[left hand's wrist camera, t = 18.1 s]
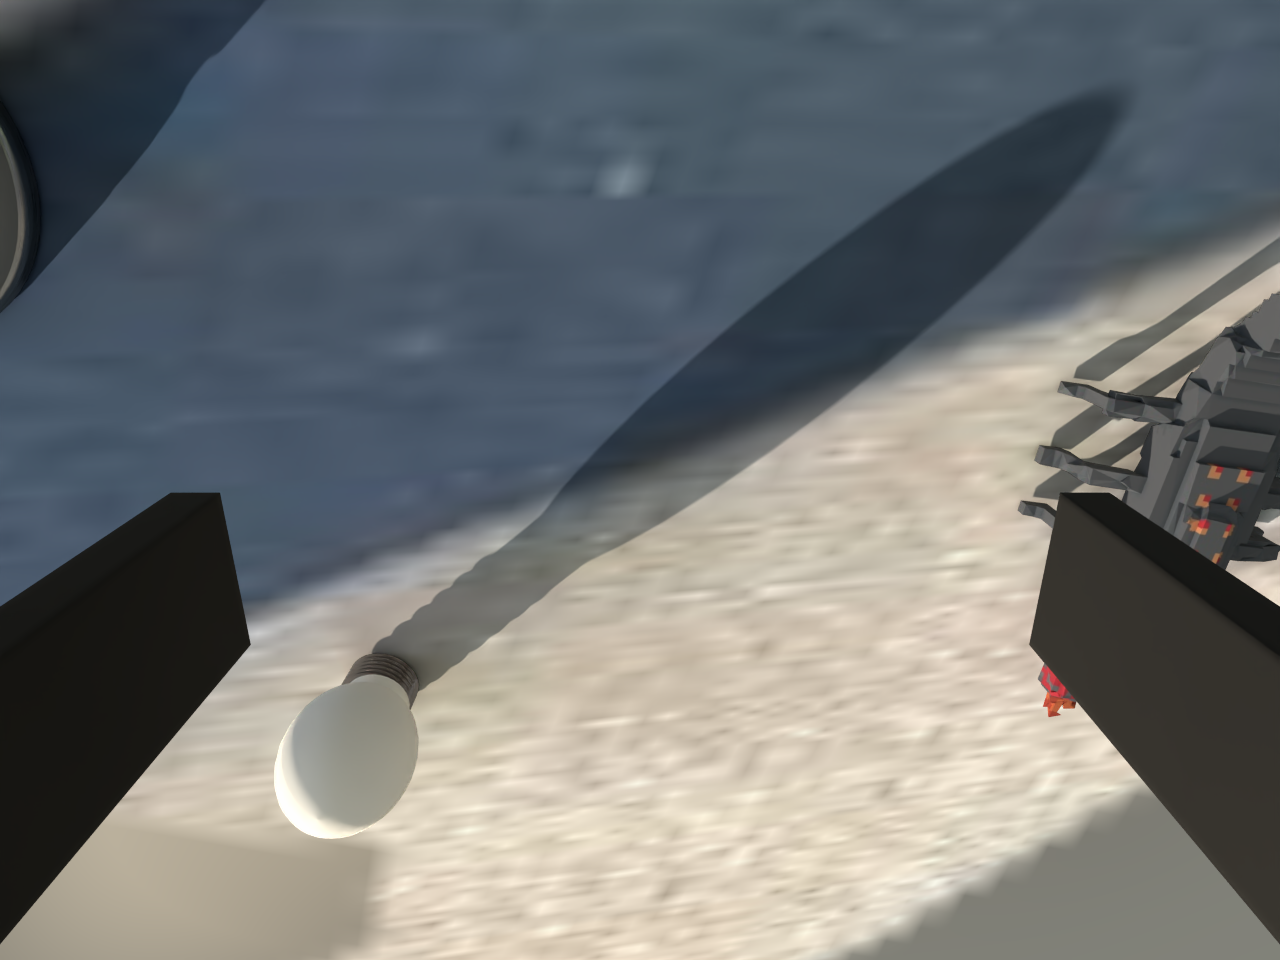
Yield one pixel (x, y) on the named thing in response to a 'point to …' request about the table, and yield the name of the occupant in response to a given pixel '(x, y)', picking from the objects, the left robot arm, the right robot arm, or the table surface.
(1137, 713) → the left robot arm
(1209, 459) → the toy
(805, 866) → the table surface
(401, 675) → the light bulb
